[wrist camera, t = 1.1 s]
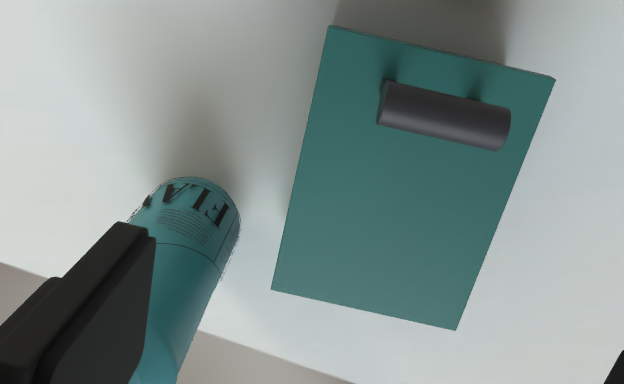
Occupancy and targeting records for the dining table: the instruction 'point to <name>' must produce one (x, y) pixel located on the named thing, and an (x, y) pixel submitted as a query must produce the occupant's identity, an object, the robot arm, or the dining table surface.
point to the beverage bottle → (182, 268)
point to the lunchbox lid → (404, 176)
